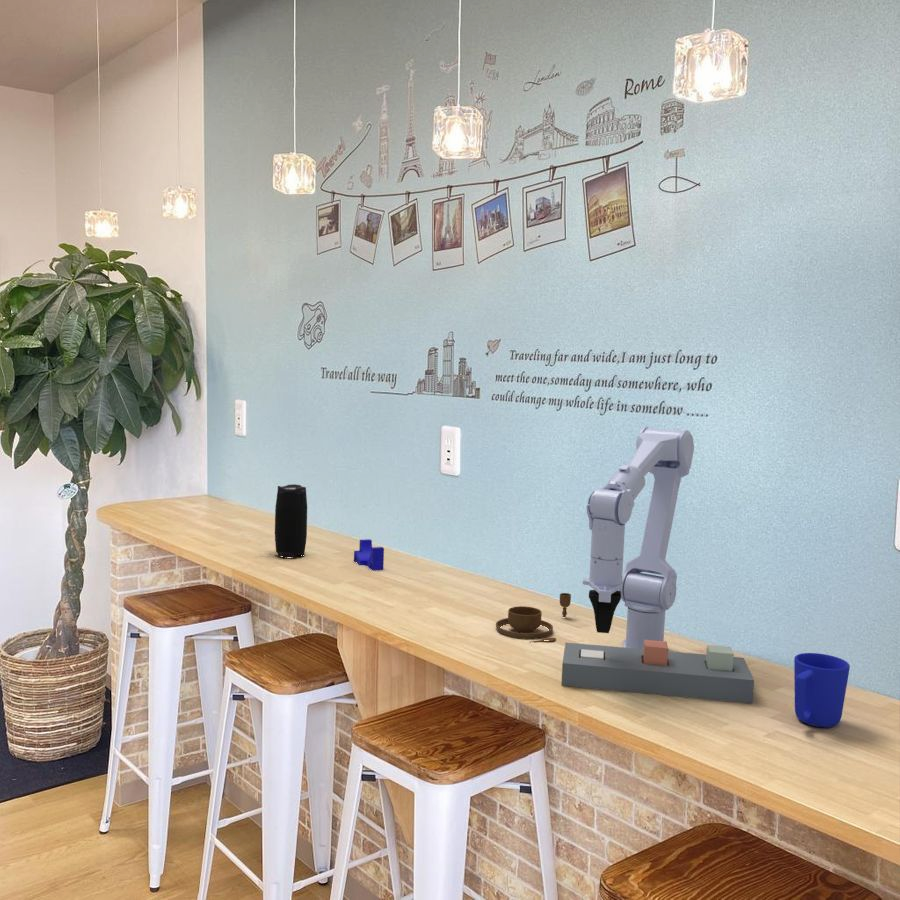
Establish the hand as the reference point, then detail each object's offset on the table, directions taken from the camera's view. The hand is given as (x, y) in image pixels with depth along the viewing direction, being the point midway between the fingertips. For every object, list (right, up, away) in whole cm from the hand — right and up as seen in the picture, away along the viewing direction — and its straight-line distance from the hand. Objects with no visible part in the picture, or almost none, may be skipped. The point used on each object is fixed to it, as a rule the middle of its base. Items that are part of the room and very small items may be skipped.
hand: (602, 631), depth 162 cm
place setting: (-8, -6, +29) cm, 31 cm away
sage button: (+20, -6, -3) cm, 21 cm away
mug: (+30, -11, -17) cm, 37 cm away
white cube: (-2, -8, +1) cm, 8 cm away
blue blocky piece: (-49, +1, +82) cm, 96 cm away
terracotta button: (+9, -6, -1) cm, 11 cm away
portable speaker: (-72, +3, +90) cm, 115 cm away
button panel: (+9, -9, -1) cm, 13 cm away
